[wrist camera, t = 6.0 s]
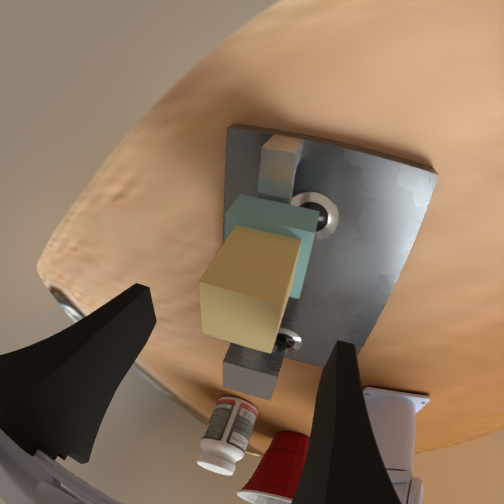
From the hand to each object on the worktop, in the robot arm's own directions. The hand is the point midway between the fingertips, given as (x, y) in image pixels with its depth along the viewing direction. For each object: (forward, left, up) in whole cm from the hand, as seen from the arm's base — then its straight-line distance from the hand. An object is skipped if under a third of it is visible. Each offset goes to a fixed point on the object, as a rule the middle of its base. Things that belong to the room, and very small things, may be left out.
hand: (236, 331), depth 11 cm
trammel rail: (-5, 0, -9) cm, 11 cm away
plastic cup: (-37, -7, -11) cm, 39 cm away
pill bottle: (-30, +2, -11) cm, 32 cm away
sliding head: (0, 0, -9) cm, 9 cm away
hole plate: (-5, -2, -10) cm, 12 cm away
